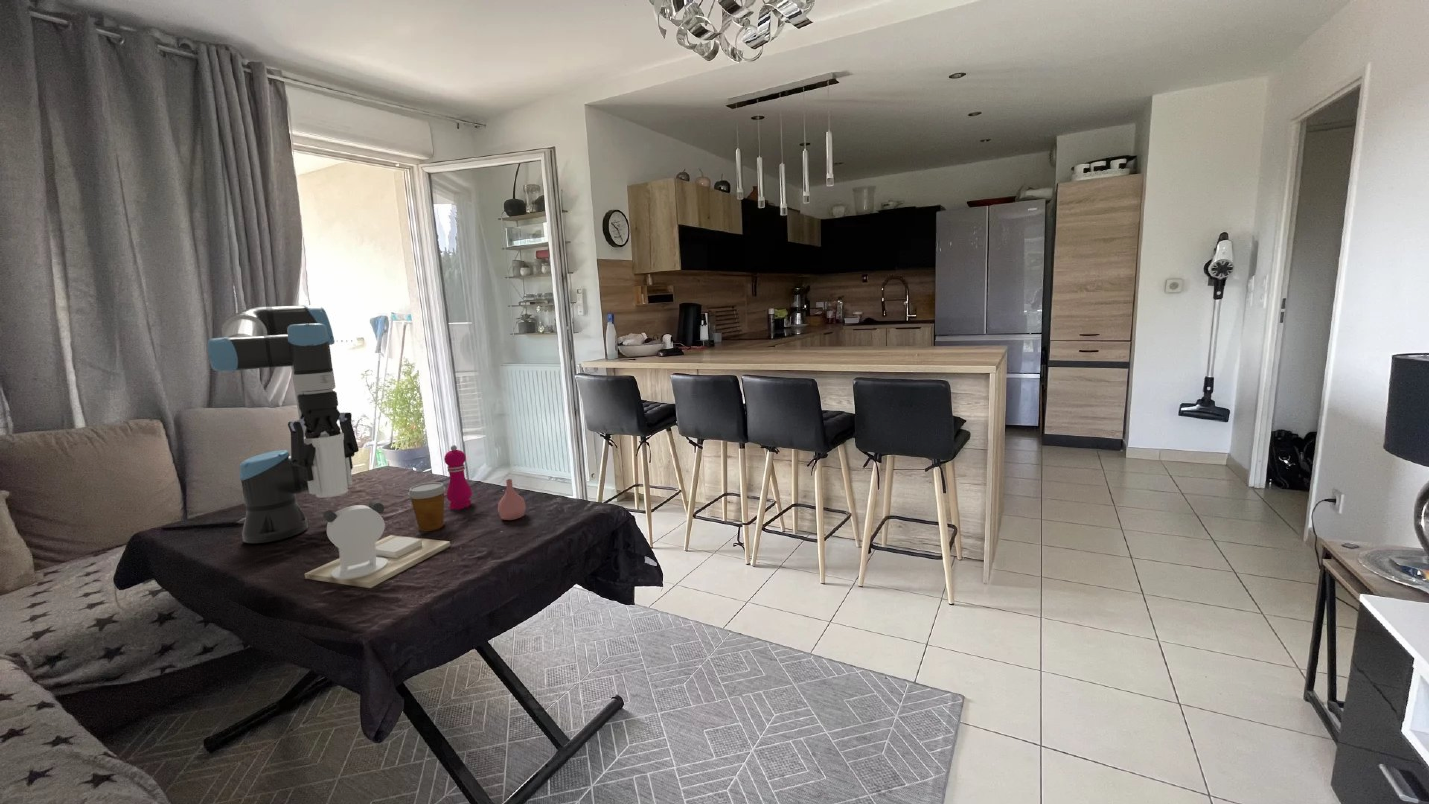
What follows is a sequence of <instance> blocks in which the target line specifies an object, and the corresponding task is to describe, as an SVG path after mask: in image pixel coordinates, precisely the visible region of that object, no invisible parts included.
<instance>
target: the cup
mask: <svg viewBox="0 0 1429 804" xmlns="http://www.w3.org/2000/svg"><path fill="white" fill-rule="evenodd" d="M340 432H341V433H340V434H339V435H335V436H329V434H328V433H323V434H321V435H320V437H319V438H314V439H307V438H306V437H304V443H306V444H307V445H308V444H311V443H312V445H313V446H314V447H315V449H316V451H315V456H314V461H313V465H312V466H317V471H318V478H319V484H320V491H321V494H318V495H317V494H315V495H316V496H315V497H316V498H321V499H322V498H325V499H326V498H332V497H336V496H341V495H345V494H346V493H349V491H348V485H347V477H346V466H345V455H344V445H343V440H344V433H342V431H340Z"/></svg>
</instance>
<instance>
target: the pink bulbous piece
mask: <svg viewBox="0 0 1429 804" xmlns="http://www.w3.org/2000/svg"><path fill="white" fill-rule="evenodd" d="M505 482H506V489H505V492H504V493H503V494H504V495H503V496H502V497H501V499H500V500H499V501H498V503H497V512H498V514H499V517H500V519H501V520H505V521H506V520H507V521H513V520H517V519H520V518H522V517H524V516H525V514H526V507H527V506H526V505H527V504H526V502H525V499H524V498H523V497H522V496H521V495H519V494H518V492H516V491H515V489H514V487H513V479H512V478H509V479H506V480H505Z"/></svg>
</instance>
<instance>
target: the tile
mask: <svg viewBox="0 0 1429 804" xmlns="http://www.w3.org/2000/svg"><path fill="white" fill-rule="evenodd" d="M405 537H406V536H403V537H396V538H393V539H391V540H389V541H387V542H385V543H383V544H380V545H378V546H376V556H384V557H392V558H398V557H400V556H402V555H404V554H406V553H408V552H410V551H412V550H414V549H416V548H418V547H420V546H422V539H423V538H421V539H414V538H415V537H412V538H405Z"/></svg>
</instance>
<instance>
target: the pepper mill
mask: <svg viewBox="0 0 1429 804" xmlns="http://www.w3.org/2000/svg"><path fill="white" fill-rule="evenodd" d="M466 459H467V458H466V454H465V452H464V451H462V450H461V449H458V446H457V445H455V444H453V445H451V446H450V450H449V451H447V452H446V453H445V455H444V463H445V464H446V465H447V467H446V469H447V472H449V483H448V487H447V488H446V489H447V490H446V499H447V500H448V501H449V509H450V510H461V509H465V508H464V507H466V508H468V507H470V506H471V505H472V500H471V499H470V498H471V497H472V494H473V491H472V488H471V486H470V484H469V483H468V481H467V480H466V476H465V469H466V467H465V464H464V463H465V462H466ZM470 504H471V505H470ZM469 505H470V506H469Z"/></svg>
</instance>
